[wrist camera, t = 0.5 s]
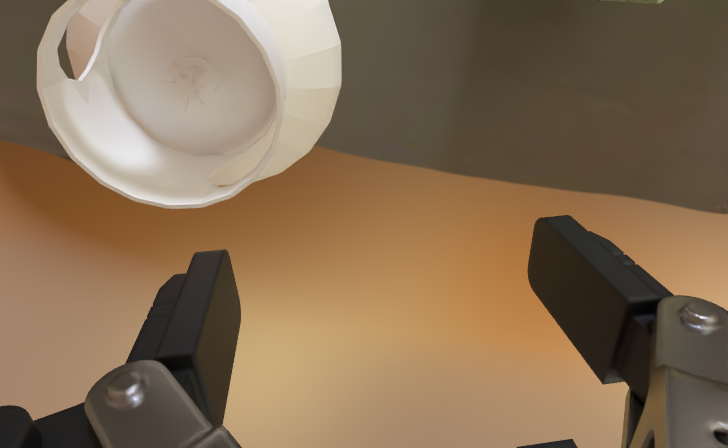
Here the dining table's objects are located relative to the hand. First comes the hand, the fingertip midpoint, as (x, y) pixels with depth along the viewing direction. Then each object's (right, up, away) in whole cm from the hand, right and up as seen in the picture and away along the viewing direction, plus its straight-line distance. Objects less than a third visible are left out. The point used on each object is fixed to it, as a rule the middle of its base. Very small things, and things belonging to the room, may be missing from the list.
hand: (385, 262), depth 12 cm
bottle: (-8, +17, +22) cm, 29 cm away
